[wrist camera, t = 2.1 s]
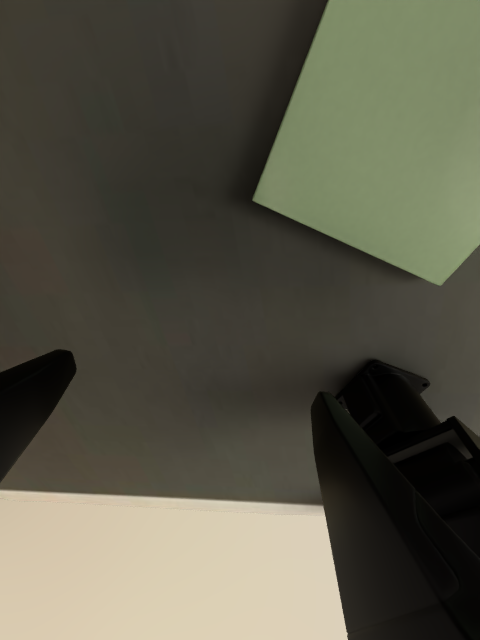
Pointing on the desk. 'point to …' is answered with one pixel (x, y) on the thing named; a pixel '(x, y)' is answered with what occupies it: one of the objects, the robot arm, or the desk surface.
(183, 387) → the desk surface
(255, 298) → the desk surface
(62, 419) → the desk surface
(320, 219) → the board
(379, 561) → the robot arm
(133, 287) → the desk surface
